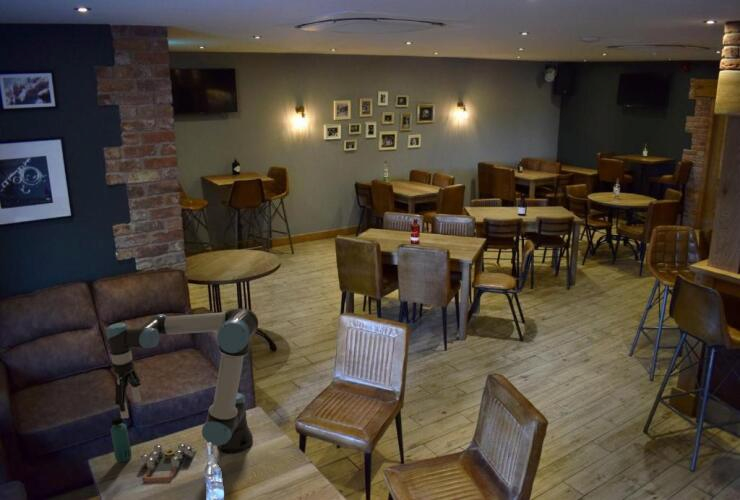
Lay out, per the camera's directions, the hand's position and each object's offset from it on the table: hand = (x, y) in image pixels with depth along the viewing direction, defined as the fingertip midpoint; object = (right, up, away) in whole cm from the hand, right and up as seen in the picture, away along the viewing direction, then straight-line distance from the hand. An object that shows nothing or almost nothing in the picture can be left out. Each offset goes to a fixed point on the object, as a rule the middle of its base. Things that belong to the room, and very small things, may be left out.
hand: (131, 409), depth 238 cm
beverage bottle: (-6, -23, +6) cm, 25 cm away
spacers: (+14, -22, +1) cm, 27 cm away
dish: (+15, -25, -7) cm, 30 cm away
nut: (+14, -21, +5) cm, 26 cm away
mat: (+14, -23, +2) cm, 27 cm away
